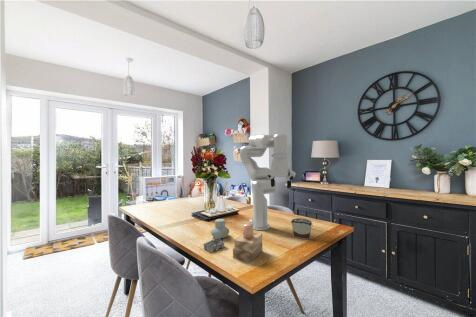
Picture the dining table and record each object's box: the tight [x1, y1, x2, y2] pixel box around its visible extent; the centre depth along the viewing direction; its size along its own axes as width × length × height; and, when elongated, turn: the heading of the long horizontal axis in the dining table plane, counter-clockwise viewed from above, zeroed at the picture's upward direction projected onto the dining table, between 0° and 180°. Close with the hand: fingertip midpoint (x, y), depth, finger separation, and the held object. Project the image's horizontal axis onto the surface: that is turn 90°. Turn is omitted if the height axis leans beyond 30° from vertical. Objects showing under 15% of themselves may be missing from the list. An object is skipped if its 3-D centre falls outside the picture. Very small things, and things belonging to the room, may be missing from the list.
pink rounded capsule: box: [242, 222, 254, 239], centre depth 109 cm, size 5×5×6 cm
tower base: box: [232, 243, 263, 263], centre depth 110 cm, size 9×13×4 cm
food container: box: [290, 217, 313, 240], centre depth 132 cm, size 12×6×10 cm, turn 59°
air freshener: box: [210, 218, 230, 239], centre depth 134 cm, size 11×8×10 cm
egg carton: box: [202, 237, 226, 253], centre depth 118 cm, size 11×8×4 cm
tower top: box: [234, 232, 263, 253], centre depth 110 cm, size 9×13×4 cm
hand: (280, 187), depth 125 cm, fingers open, 9 cm apart
